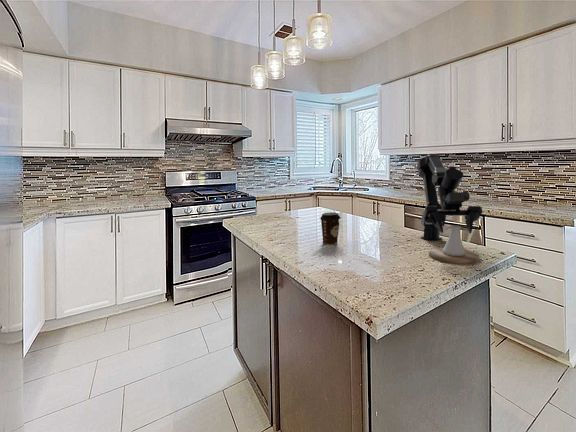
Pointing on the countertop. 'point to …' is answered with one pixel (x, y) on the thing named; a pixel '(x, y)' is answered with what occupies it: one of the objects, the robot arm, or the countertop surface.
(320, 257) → the countertop surface
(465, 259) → the walnut board
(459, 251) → the flask
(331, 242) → the coffee cup
